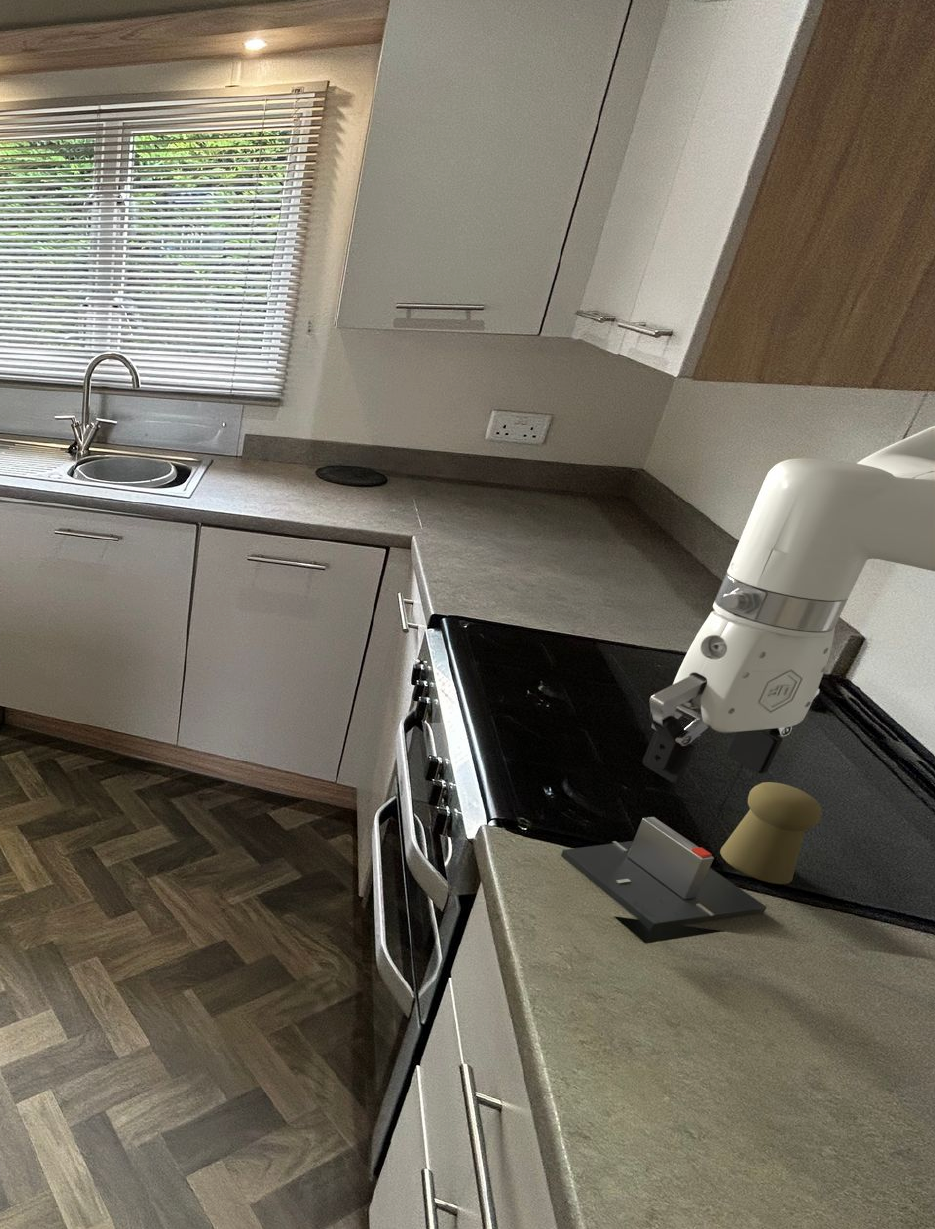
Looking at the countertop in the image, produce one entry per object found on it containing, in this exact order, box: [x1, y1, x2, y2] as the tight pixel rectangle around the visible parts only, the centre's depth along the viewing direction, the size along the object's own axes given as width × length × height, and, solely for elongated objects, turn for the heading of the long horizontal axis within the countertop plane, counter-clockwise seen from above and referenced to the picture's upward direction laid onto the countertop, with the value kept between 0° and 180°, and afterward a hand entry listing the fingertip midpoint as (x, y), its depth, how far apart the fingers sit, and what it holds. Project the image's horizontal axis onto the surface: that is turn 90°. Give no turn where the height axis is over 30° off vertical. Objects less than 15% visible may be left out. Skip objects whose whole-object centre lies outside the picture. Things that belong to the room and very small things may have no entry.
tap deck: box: [560, 840, 767, 944], centre depth 76 cm, size 13×10×3 cm
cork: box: [719, 781, 822, 885], centre depth 78 cm, size 6×6×11 cm
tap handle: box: [627, 816, 715, 899], centre depth 75 cm, size 6×1×5 cm, turn 10°
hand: (703, 768), depth 71 cm, fingers open, 9 cm apart
